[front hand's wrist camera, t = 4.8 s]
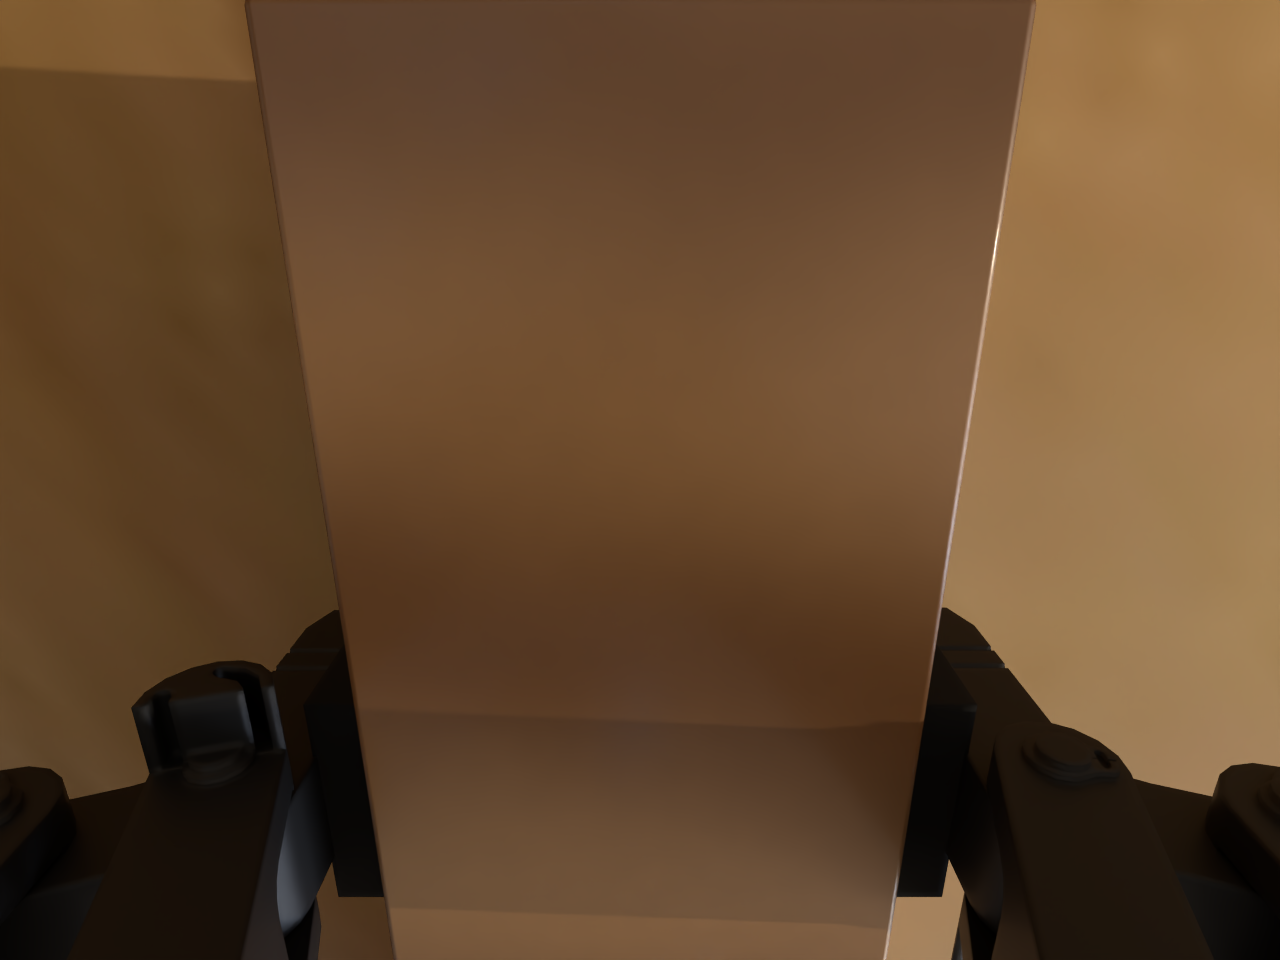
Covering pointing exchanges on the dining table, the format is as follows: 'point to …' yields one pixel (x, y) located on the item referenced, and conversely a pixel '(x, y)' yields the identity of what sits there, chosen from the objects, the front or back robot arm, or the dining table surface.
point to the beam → (640, 442)
